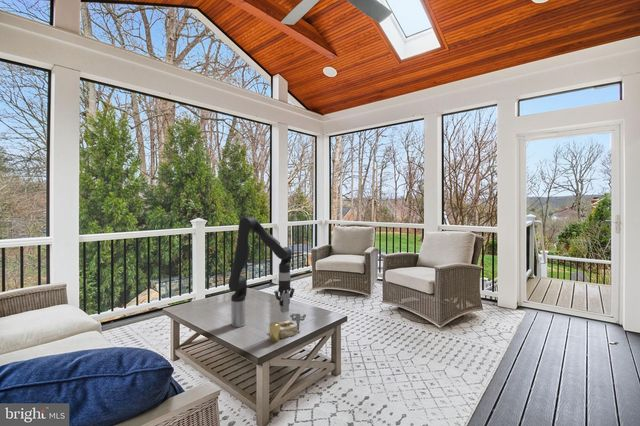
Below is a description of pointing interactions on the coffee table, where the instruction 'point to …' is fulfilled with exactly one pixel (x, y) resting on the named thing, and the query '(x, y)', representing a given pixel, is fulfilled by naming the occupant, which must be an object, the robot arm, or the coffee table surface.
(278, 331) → the round brass bit
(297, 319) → the mechanical component
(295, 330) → the socket block
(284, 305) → the bar
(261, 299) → the coffee table surface
